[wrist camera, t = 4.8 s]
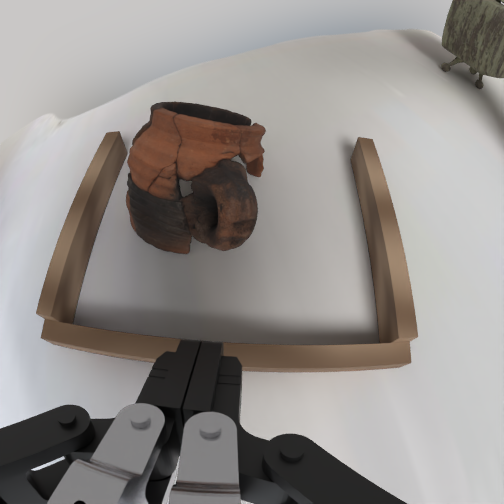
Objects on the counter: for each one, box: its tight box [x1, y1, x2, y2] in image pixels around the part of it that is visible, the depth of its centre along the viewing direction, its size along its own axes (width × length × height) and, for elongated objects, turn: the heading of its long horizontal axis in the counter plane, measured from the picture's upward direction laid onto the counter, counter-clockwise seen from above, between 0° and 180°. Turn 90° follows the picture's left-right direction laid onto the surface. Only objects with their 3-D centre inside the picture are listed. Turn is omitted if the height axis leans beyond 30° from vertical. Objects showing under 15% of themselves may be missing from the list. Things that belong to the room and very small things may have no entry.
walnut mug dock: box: [36, 131, 418, 372], centre depth 18 cm, size 16×21×2 cm
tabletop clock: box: [441, 0, 504, 89], centre depth 26 cm, size 14×9×25 cm, turn 114°
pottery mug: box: [126, 102, 266, 254], centre depth 19 cm, size 12×10×8 cm
